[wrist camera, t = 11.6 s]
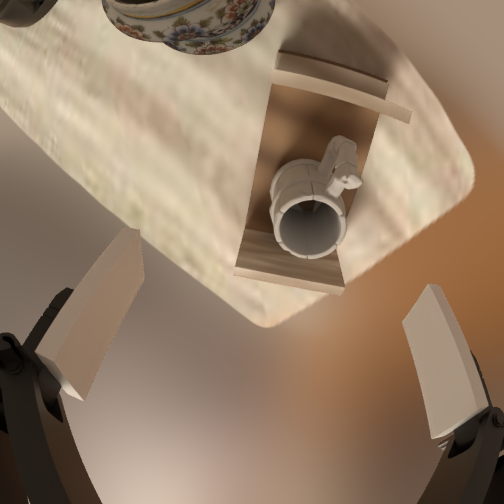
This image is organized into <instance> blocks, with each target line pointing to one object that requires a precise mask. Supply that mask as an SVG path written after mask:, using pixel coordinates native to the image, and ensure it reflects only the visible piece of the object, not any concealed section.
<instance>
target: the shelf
mask: <svg viewBox="0 0 504 504" xmlns="http://www.w3.org/2000/svg"><path fill="white" fill-rule="evenodd" d="M268 83H272V86H271V91H270V96H269V101H268V107H267V112H266V117H265V122H264V127H263V133H262V138H261V143H260V149H259V154H258V159H257V165H256V170H255V175H254V181H253V186H252V192H251V197H250V203H249V208H248V214H247V219H246V225H245V230H244V234H243V237H242V241H241V245H240V249H239V253H238V257H237V261H236V265H235V270H234V276H239V277H244V278H249V279H254V280H259V281H264V282H269V283H275V284H280V285H285V286H290V287H296V288H301V289H307V290H312V291H318V292H323V293H329V294H335V295H340V296H341V295H342V293H343V291H344V289H345V285H344V280H343V276H342V271H341V267H340V263H339V259H338V255H337V251H336V249H335V250H334V251H333V252H331V253H330V254H328V255H326V256H323V257H320V258H316V259H308V257H307V258H306V259H305V258H299V257H297V256H295V255H293V254H291V253H290V252H289V251H287V250H284V249H283V248H282V247H281V246H280V245H279V242H277V240H276V238H275V234H274V225H273V222H272V219H271V215H270V206H271V204H272V201H271V194H270V188H271V183H272V180H273V178H274V176H275V174H276V173H277V171H278V170H279V169H280V168H281V167H282V166H284V165H285V164H287V163H288V162H290V161H292V160H297V159H301V158H303V159H312V160H315V161H318V162H320V163H321V161H322V159H323V156H324V154H325V152H326V149H327V146H328V144H329V143H330V141H331V140H332V138H333V137H335V136H338V135H341V136H344V137H346V138H347V139H349V140H351V141H353V142H355V143H356V154H357V156H358V158H357V164H358V173H359V176H360V177H361V174H362V171H363V168H364V165H365V162H366V158H367V155H368V152H369V148H370V145H371V142H372V138H373V135H374V131H375V128H376V124H377V121H378V117H379V113H382V114H385V115H387V116H390V117H393V118H395V119H398V120H400V121H403V122H405V123H407V124H409V122H410V118H411V115H412V111H410V110H408V109H406V108H403V107H401V106H398V105H396V104H394V103H391V102H389V101H386V100H385V97H386V93H387V89H388V85H389V84H388V83H387V80H385V79H382V78H380V77H377V76H374V75H372V74H369V73H366V72H363V71H360V70H357V69H354V68H351V67H348V66H345V65H341V64H338V63H335V62H331V61H328V60H324V59H320V58H316V57H312V56H308V55H303V54H299V53H294V52H289V51H284V50H279V51H278V54H277V59H276V64H275V69H271V70H270V75H269V80H268ZM335 165H336V164H335ZM335 170H336V169H335V166H334V168H333V170H332V173H333V174H334V172H335ZM356 189H357V188H354V189H346V188H344V189H343V191H342V192H341V196H342V199H343V201H344V205H345V216H346V218H347V215H348V212H349V209H350V207H351V204H352V201H353V198H354V195H355V192H356ZM315 201H316V200H314V199H313V200H306V201H302V202H299V203H297V204H298V205H299V206H300V207H301V209H302V210H311V209H313V208H314V205H315ZM322 203H323V202H322ZM322 203H321V204H322ZM321 204H320V205H321Z"/></svg>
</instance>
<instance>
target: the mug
mask: <svg viewBox="0 0 504 504" xmlns="http://www.w3.org/2000/svg"><path fill="white" fill-rule="evenodd" d="M357 158H358V156H357V154H356V143H355V142H353V141H351V140H349V139H347V138H346V137H344V136H341V135H338V136H335V137H333V138H332V140H331V141H330V143H329V144H328V146H327V149H326V152H325V154H324V156H323V159H322V161H321V163H320V162H318V161H315V160H312V159H303V158H301V159H297V160H292V161H290V162H288V163H287V164H285V165H284V166H282V167H281V168H280V169H279V170H278V171H277V173H276V174H275V176H274V178H273V180H272V183H271V188H270V194H271V201H272V204H271V206H270V215H271V219H272V222H273V225H274V234H275V238H276V240H277V242H279V245H280V246H281V247H282V248H283V249H284V250H287V251H289V252H290V253H291V254H293V255H295V256H297V257H299V258H305V259H306V258H307V257H308V259H316V258H320V257H323V256H326V255H328V254H330V253H331V252H333V251H334V250H335V249H336V248H337V244H341V243H342V241H343V239H344V237H345V234H346V229H347V221H346V216H345V205H344V201H343V199H342V196H341V192H342V191H343V189H344V188H346V189H354V188H357V187H359V186H360V185H361V184H362V183H363V180H362V179H361V178H360V176H359V173H358V164H357ZM335 164H336V165H335ZM334 166H335V169H336V170H335V172H334V174H333V173H332V170H333V168H334ZM313 199H314V200H316V201H315V205H314V208H313V209H311V210H302V209H301V207H300V206H299V205H298V204H297V203H299V202H302V201H306V200H313ZM322 202H323V203H322ZM321 203H322V204H321ZM320 204H321V205H320Z"/></svg>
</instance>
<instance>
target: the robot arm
mask: <svg viewBox="0 0 504 504" xmlns="http://www.w3.org/2000/svg"><path fill="white" fill-rule="evenodd" d="M56 2H57V0H0V23H3V24H5V25H8V26H11V27H16V28H17V27H28V26H31V25H33V24H34V23H36V22H37V21H39V20H40V19H41V18H42V17H44V16H45V15H46V14H47V13H48V12H49V10H50V9H51V8H52V7H53V6H54V4H55V3H56ZM144 279H145V277H144V269H143V260H142V250H141V239H140V230H138V229H133V228H127V227H124V228H123V229H122V230H121V231H120V232H119V234H118V235H117V236H116V237H115V238H114V240H113V241H112V242H111V243H110V244H109V246H108V247H107V248H106V249H105V251H104V252H103V253H102V254H101V256H100V257H99V258H98V259H97V261H96V262H95V263H94V264H93V266H92V267H91V269H90V270H89V271H88V272H87V274H86V275H85V276H84V278H83V279H82V280H81V282H80V283H79V284H78V286H77V287H76V289H75V290H73V289H70V288H65V289H64V290H62V291H61V292H60V293H58V294H57V295H56V296H55V297H54V299H53V300H52V302H51V303H50V304H49V307H48V308H47V309H46V310H45V312H44V313H43V316H41V317H40V319H39V320H38V322H37V323H36V325H35V326H34V328H33V330H32V331H31V333H30V334H29V336H28V338H27V339H26V341H25V342H24V344H23V345H22V346H21V345H20V343H19V341H18V340H17V339H16V337H15V336H14V335H13V334H11V333H1V334H0V504H29V503H28V499H29V501H30V504H102V502H101V500H100V498H99V497H98V494H97V492H96V490H95V488H94V486H93V484H92V482H91V480H90V478H89V476H88V473H87V471H86V469H85V467H84V464H83V462H82V459H81V457H80V455H79V452H78V449H77V447H76V444H75V441H74V439H73V436H72V433H71V430H70V426H69V423H68V420H67V417H66V414H65V410H64V407H63V403H62V399H61V396H60V394H59V391H60V389H61V387H62V388H63V389H64V390H65V391H66V392H67V393H68V394H70V395H71V396H74V397H76V398H78V399H80V400H82V401H85V400H86V397H87V395H88V392H89V390H90V388H91V385H92V383H93V381H94V379H95V376H96V374H97V372H98V370H99V368H100V365H101V363H102V361H103V359H104V357H105V355H106V353H107V350H108V348H109V346H110V344H111V342H112V340H113V338H114V336H115V334H116V332H117V330H118V328H119V326H120V324H121V322H122V320H123V318H124V316H125V315H126V313H127V311H128V309H129V307H130V305H131V303H132V301H133V299H134V298H135V296H136V294H137V292H138V290H139V288H140V287H141V285H142V283H143V281H144ZM402 323H403V326H404V329H405V332H406V336H407V339H408V342H409V345H410V348H411V352H412V356H413V359H414V362H415V366H416V370H417V374H418V377H419V381H420V385H421V390H422V394H423V398H424V403H425V407H426V412H427V417H428V422H429V427H430V433H431V438H432V439H434V438H438V437H442V436H444V435H446V434H448V433H450V432H451V431H453V430H454V435H452V436H450V437H449V438H447V439H445V440H443V441H442V442H440V444H439V445H438V447H440V446H442V445H444V444H446V443H447V445H445V446H444V447H442V448H441V449H442V450H444V452H443V455H442V457H441V459H440V461H439V463H438V466H437V468H436V470H435V472H434V474H433V476H432V478H431V480H430V482H429V484H428V485H427V487H426V489H425V491H424V493H423V494H422V496H421V498H420V499H419V501H418V503H417V504H504V455H502V456H500V457H499V453H500V451H502V450H504V413H503V411H501V409H500V408H498V407H492V404H491V401H490V397H489V394H488V391H487V388H486V385H485V382H484V379H483V378H482V373H481V371H480V370H479V369H480V368H479V365H478V362H477V360H476V358H475V356H474V355H473V354H472V352H471V350H469V347H468V345H467V342H466V340H465V338H464V335H463V333H462V331H461V328H460V327H459V324H458V322H457V320H456V318H455V315H454V313H453V311H452V309H451V307H450V305H449V303H448V301H447V299H446V297H445V295H444V293H443V291H442V290H441V288H440V286H439V285H435V284H429V283H428V285H427V286H426V288H425V289H424V291H423V292H422V294H421V296H420V297H419V299H418V300H417V302H416V303H415V305H414V306H413V308H412V309H411V310H410V312H409V313H408V315H407V316H406V318H405V319H404V320H403V322H402ZM498 457H499V458H498ZM27 497H28V498H27Z"/></svg>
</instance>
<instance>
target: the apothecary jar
mask: <svg viewBox="0 0 504 504" xmlns="http://www.w3.org/2000/svg"><path fill="white" fill-rule="evenodd" d="M102 5H103V8H104V11H105V13H106V15H107V17H108V19H109V20H110V22H111V23H112V24H113V25H114V26H115V27H116V28H117V29H118V30H120V31H121V32H122V33H124V34H126V35H128V36H130V37H133V38H135V39H139V40H143V41H148V42H163V43H164V44H166V45H167V46H169V47H171V48H173V49H175V50H178V51H180V52H184V53H188V54H195V55H211V54H218V53H222V52H226V51H229V50H232V49H235V48H237V47H240V46H242V45H244V44H246V43H247V42H249V41H250V40H252V39H253V38H254V37H255V36H256V35H258V34H259V33H260V32H261V31H262V30H263V28H264V27H265V26H266V24H267V23H268V21H269V20H270V18H271V15H272V13H273V10H274V6H275V0H102Z"/></svg>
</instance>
